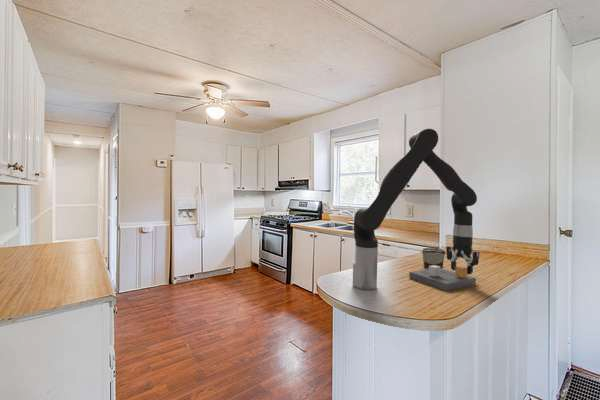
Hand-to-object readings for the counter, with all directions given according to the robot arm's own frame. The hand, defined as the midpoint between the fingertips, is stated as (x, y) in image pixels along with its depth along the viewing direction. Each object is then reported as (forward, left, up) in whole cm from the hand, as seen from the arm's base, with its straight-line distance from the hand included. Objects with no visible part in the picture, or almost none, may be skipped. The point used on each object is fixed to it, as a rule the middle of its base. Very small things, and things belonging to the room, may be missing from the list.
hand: (461, 271), depth 124 cm
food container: (+13, +25, -6) cm, 29 cm away
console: (-5, +6, -5) cm, 9 cm away
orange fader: (0, 0, -2) cm, 2 cm away
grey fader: (-10, +6, -2) cm, 12 cm away
